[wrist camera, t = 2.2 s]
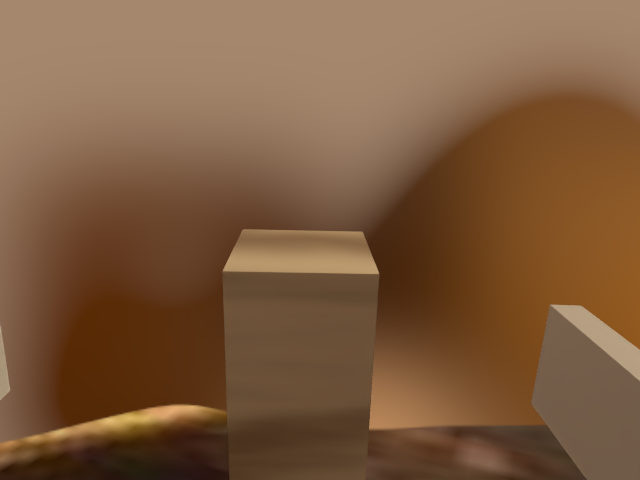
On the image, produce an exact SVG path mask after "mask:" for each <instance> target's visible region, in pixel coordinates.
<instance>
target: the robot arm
mask: <svg viewBox="0 0 640 480" xmlns="http://www.w3.org/2000/svg"><path fill="white" fill-rule="evenodd" d="M9 391H10V385H9V379H8V372H7V366H6V359H5V352H4V346H3V339H2V333H1V326H0V400H1V399H2V398H3V397H4V396H5V395H6V394H7V393H8V392H9ZM531 404H532V405H533V407H534V408H535V410H536V411H537V412H538V413H539V415H540V416H541V418H542V419H543V420H544V422H545V423H546V425H547V426H548V427H549V429H550V430H551V431H552V433H553V434H554V435H555V437H556V438H557V440H558V441H559V442H560V444H561V445H562V446H563V448H564V449H565V450H566V452H567V453H568V455H569V456H570V457H571V459H572V460H573V461H574V463H575V464H576V466H577V467H578V468H579V470H580V471H581V472H582V474H583V475H584V476H585V478H586V479H587V480H640V350H639V349H638V348H636V347H635V346H633V345H632V344H631V343H630V342H628V341H627V340H626V339H624V338H623V337H622V336H620V335H619V334H618V333H616V332H615V331H614V330H613V329H611V328H610V327H609V326H607V325H606V324H605V323H603V322H602V321H601V320H599V319H598V318H597V317H595V316H594V315H593V314H591V313H590V312H589V311H587V310H586V309H585V308H583V307H582V306H571V305H550V309H549V314H548V319H547V324H546V330H545V335H544V340H543V345H542V350H541V355H540V361H539V366H538V371H537V376H536V381H535V386H534V392H533V397H532V402H531Z"/></svg>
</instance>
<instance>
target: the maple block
mask: <svg viewBox="0 0 640 480" xmlns="http://www.w3.org/2000/svg"><path fill="white" fill-rule="evenodd" d="M378 284H379V273H378V270H377V267H376V265H375V262H374V260H373V258H372V255H371V252H370V250H369V247H368V245H367V242H366V240H365V237H364V235H363V232H343V231H294V230H293V231H292V230H245V229H244V230H242V233H241V235H240V237H239V239H238V241H237V243H236V245H235V247H234V249H233V251H232V253H231V255H230V257H229V259H228V261H227V264H226V266H225V268H224V270H223V296H224V328H225V358H226V389H227V390H226V391H227V422H228V453H229V480H365V479H366V464H367V449H368V434H369V419H370V404H371V388H372V373H373V359H374V344H375V328H376V313H377V299H378Z"/></svg>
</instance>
